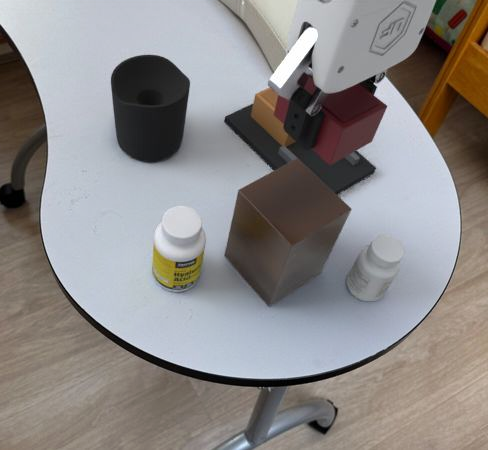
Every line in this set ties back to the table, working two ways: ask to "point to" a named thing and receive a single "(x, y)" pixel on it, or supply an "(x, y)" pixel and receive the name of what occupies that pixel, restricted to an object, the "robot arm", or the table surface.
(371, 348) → the table surface
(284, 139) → the small orange-brown block
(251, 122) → the base mat
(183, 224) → the supplement bottle
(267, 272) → the tall brown block
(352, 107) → the red lidded box
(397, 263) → the pill bottle
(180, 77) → the pen holder
